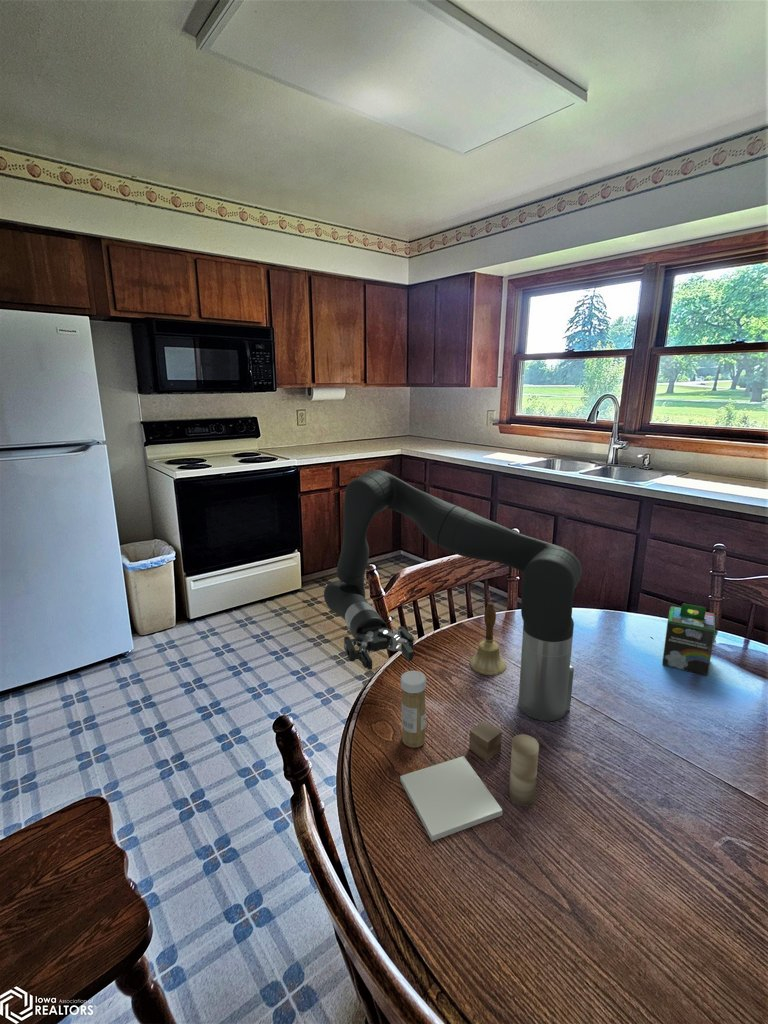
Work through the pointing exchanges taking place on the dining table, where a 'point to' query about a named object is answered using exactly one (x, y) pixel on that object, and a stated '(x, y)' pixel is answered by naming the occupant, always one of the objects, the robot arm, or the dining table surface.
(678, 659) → the chalk box
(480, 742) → the walnut block
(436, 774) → the ceramic tile
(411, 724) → the sprinkles bottle
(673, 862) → the dining table surface
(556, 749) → the dining table surface
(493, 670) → the hand bell
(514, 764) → the beech dowel
